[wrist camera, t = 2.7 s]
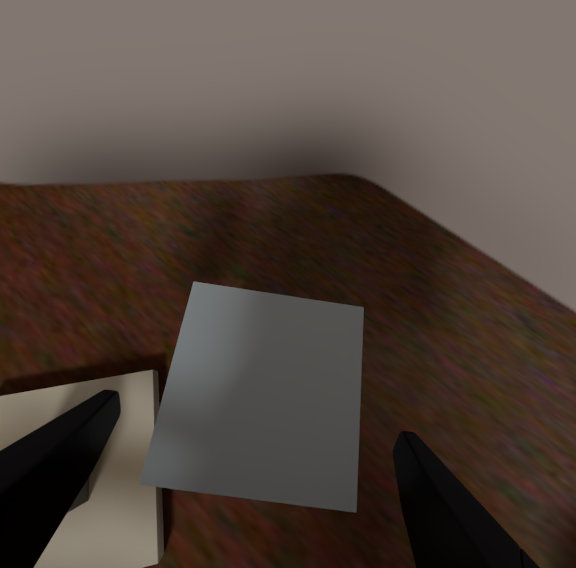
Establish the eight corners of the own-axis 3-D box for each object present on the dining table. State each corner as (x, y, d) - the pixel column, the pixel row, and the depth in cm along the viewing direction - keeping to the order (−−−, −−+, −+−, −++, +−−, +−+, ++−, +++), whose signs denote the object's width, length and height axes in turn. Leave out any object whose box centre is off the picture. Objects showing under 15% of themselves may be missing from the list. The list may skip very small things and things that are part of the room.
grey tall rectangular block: (304, 453, 17) (356, 512, 8) (204, 439, 17) (138, 484, 8) (314, 352, 19) (363, 307, 10) (225, 339, 19) (193, 281, 10)
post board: (164, 553, 15) (127, 611, 11) (-40, 606, 14) (-169, 695, 10) (158, 371, 18) (127, 362, 14) (-8, 400, 17) (-96, 399, 13)
